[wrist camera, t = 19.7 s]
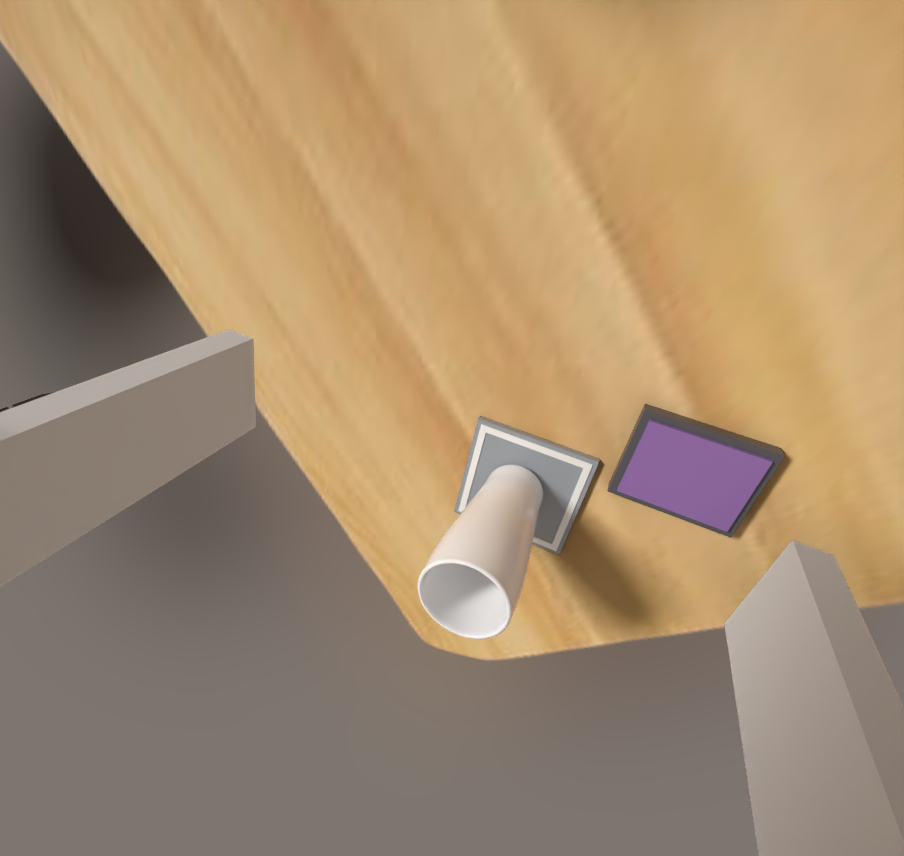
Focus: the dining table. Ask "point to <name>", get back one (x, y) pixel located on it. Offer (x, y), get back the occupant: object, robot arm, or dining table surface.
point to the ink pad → (693, 470)
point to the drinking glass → (484, 556)
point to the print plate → (550, 462)
